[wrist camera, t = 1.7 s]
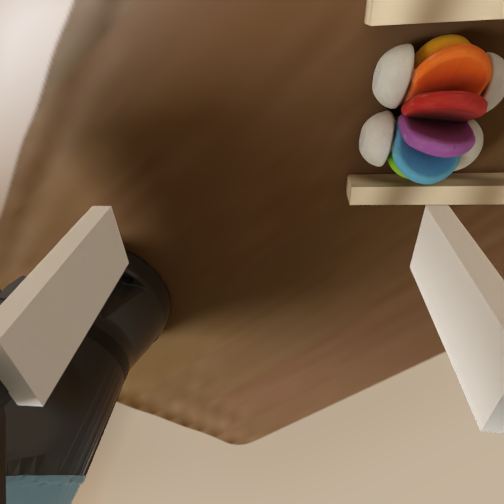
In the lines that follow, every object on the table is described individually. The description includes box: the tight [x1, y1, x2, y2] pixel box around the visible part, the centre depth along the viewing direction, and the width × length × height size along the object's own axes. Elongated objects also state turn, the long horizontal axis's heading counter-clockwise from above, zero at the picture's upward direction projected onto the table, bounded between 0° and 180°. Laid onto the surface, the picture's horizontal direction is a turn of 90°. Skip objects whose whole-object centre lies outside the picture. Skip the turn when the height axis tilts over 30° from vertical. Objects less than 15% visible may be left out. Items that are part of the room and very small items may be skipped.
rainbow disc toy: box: [359, 34, 504, 185], centre depth 25 cm, size 8×10×7 cm
